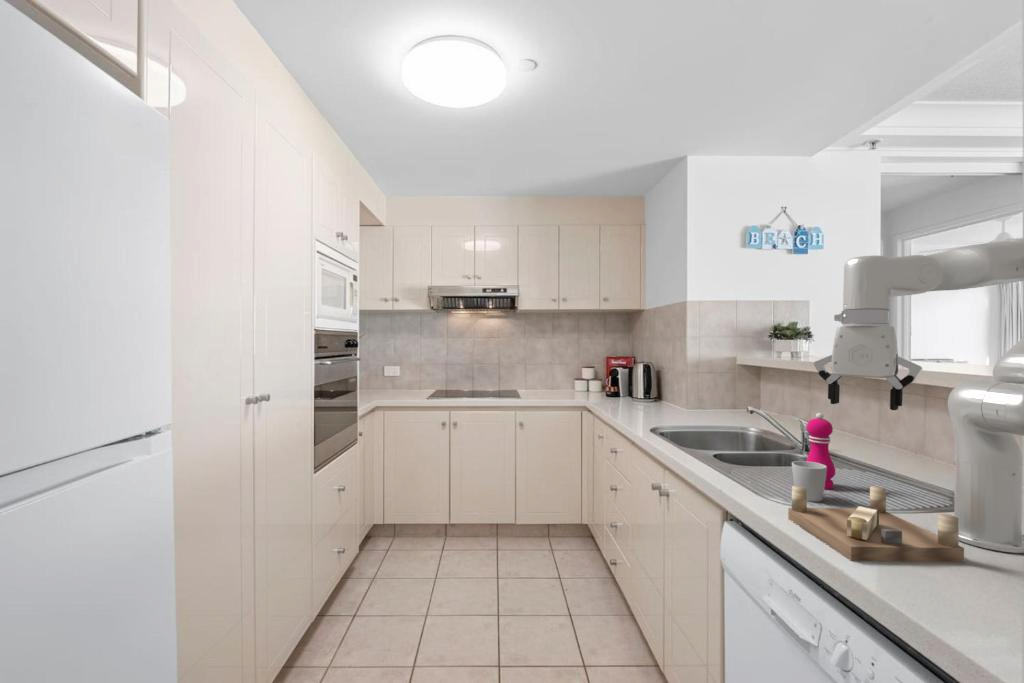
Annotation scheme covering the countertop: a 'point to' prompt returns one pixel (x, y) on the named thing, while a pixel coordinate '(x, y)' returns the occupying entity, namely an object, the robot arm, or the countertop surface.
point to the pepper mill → (821, 446)
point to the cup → (810, 478)
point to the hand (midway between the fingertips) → (863, 406)
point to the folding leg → (862, 522)
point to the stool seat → (878, 532)
